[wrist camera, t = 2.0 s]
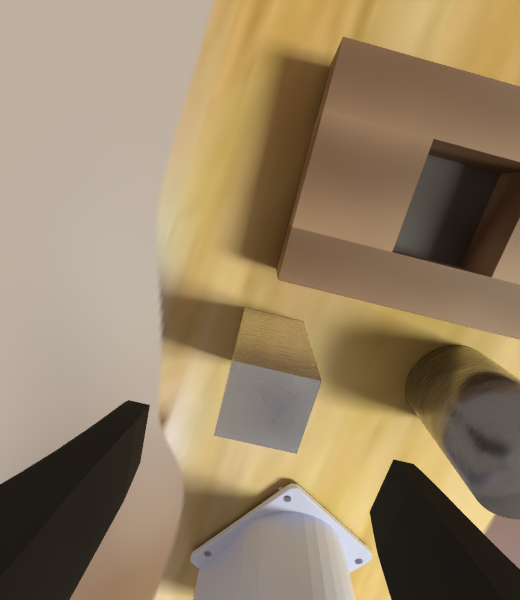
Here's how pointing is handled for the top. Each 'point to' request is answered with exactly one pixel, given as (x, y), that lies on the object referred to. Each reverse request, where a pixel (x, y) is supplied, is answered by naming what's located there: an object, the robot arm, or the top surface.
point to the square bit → (269, 383)
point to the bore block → (411, 191)
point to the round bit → (472, 421)
